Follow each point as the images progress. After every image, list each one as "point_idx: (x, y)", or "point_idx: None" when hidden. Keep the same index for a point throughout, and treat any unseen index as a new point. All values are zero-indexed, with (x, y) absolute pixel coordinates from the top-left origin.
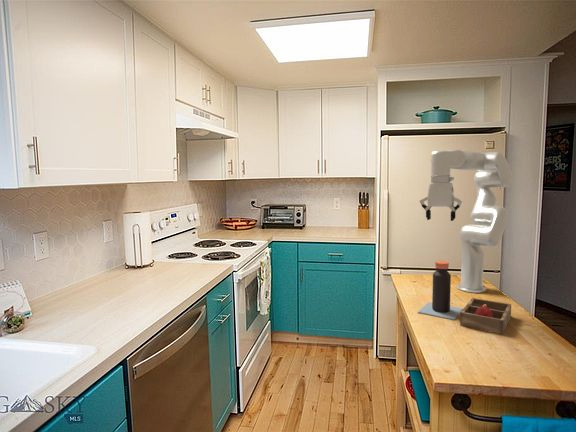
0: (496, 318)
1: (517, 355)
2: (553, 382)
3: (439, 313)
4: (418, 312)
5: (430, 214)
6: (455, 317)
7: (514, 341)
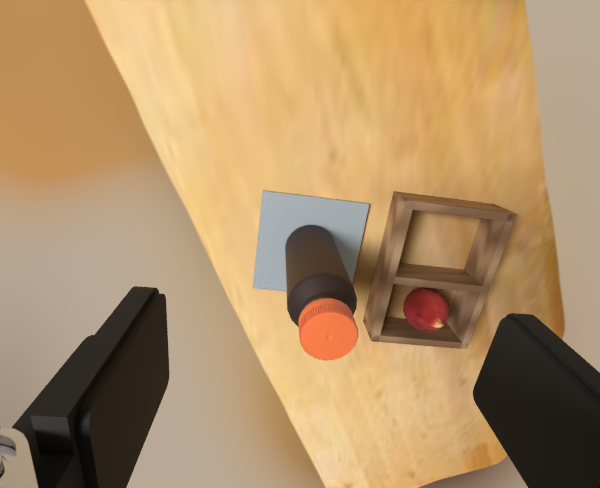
0: (453, 342)
1: (458, 402)
2: (488, 454)
3: None
4: (254, 287)
5: (134, 351)
6: None
7: (466, 351)
